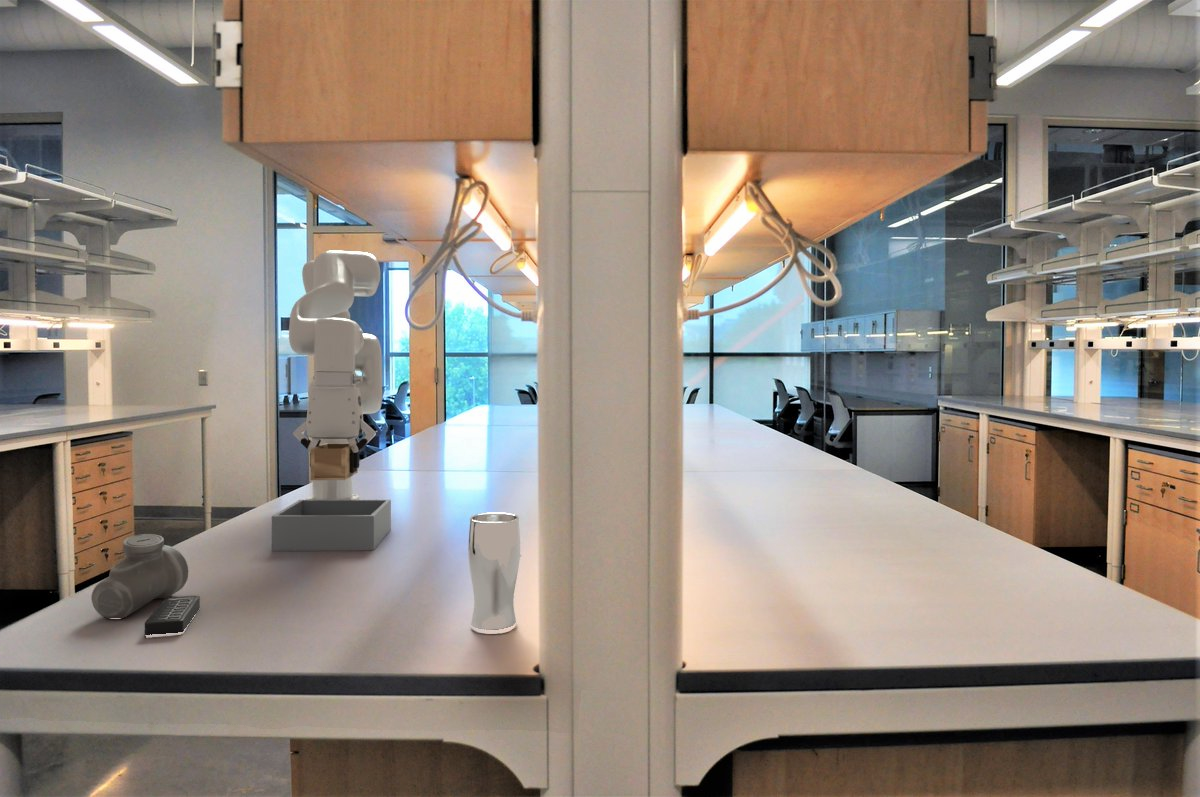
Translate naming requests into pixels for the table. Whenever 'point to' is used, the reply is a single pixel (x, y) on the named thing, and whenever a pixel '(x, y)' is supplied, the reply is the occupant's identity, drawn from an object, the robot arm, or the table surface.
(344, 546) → the box
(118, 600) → the pipe fitting
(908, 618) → the table surface
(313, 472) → the oak crate
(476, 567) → the beer glass
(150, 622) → the multiport hub
